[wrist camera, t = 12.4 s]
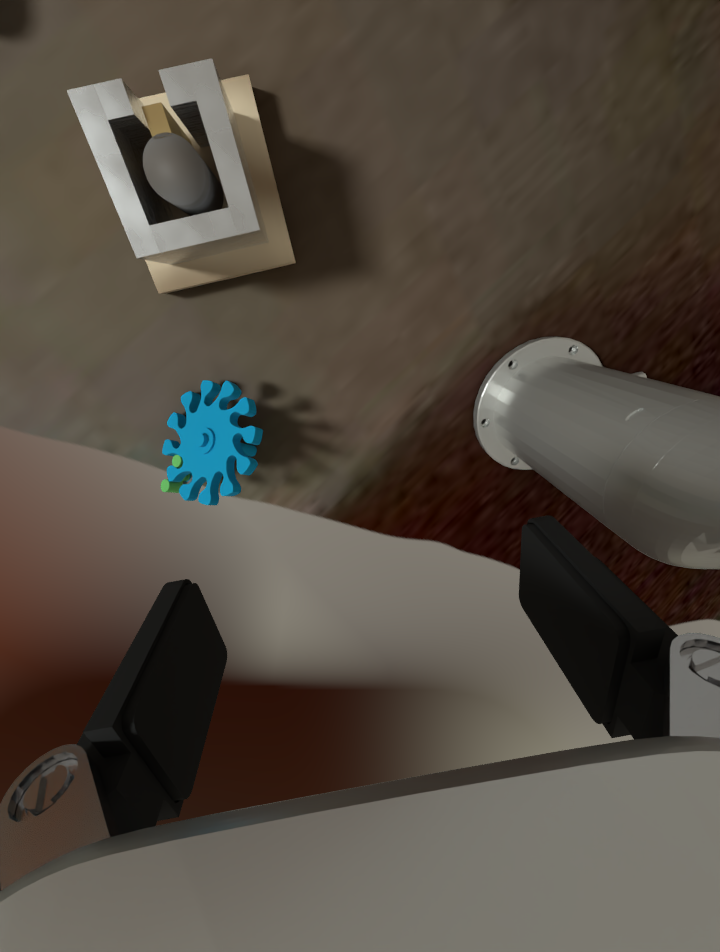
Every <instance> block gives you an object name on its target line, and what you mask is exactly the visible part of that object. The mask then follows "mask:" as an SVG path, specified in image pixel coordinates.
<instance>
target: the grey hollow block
mask: <svg viewBox="0 0 720 952" xmlns="http://www.w3.org/2000/svg"><path fill="white" fill-rule="evenodd" d="M159 73H160V76H161V79H162V83H163V86H164V89H165V92H166V95H167V98H168V101H169V104H170V106H171V108H172V109H173V111H174V112H175V113H176V115H177V116H178V117H179V119H180V120H181V122H182V123H183V124H184V126H185V127H186V128H187V130H188V131H189V133H190V134H191V135H192V137H193V138H194V139H195V141H196V142H197V143H198V145H199V146H200V148H202V147H207V146H210V147H211V150H212V154H213V157H214V160H215V164H216V167H217V170H218V173H219V177H220V180H221V183H222V187H223V190H224V193H225V196H226V200H227V203H228V206H229V207H228V208H224V209H220V210H215V211H211V212H206V213H202V214H198V215H193V216H189V217H185V218H180V219H176V220H175V219H174V217H173V214H172V211H171V208H170V206H169V203H168V201H167V200H165V199H164V198H162V197H161V196H160V195H159V194H157V193H156V192H155V190H154V189H153V188H152V186H151V185H150V183H149V182H148V180H147V177H146V175H145V172H144V167H143V152H144V149H145V146H146V144H147V143H148V141H149V140H150V139H151V138H152V135H151V132H150V130H149V127H148V124H147V121H146V118H145V115H144V113H143V110H142V106H144V104H143V103H142V102H141V101H140V100H139V99H138V97H137V96H136V95H135V94H134V93H133V92H132V91H131V89H130V88H129V87H128V86H127V85H126V84H125V82H124V81H123V80H122V79H116V80H111V81H107V82H102V83H98V84H93V85H89V86H84V87H80V88H75V89H70V90H67V92H68V95H69V97H70V99H71V102H72V104H73V107H74V109H75V111H76V114H77V116H78V119H79V121H80V123H81V126H82V128H83V131H84V133H85V135H86V138H87V140H88V143H89V145H90V147H91V150H92V152H93V154H94V157H95V159H96V162H97V164H98V166H99V169H100V171H101V174H102V176H103V178H104V181H105V183H106V186H107V188H108V190H109V193H110V195H111V198H112V200H113V202H114V205H115V207H116V209H117V212H118V214H119V217H120V219H121V221H122V224H123V226H124V229H125V231H126V233H127V236H128V238H129V241H130V243H131V245H132V248H133V250H134V253H135V255H136V257H137V258H138V259H143V260H148V261H154V262H159V263H164V264H169V265H173V264H178V263H182V262H186V261H191V260H195V259H199V258H204V257H208V256H212V255H217V254H221V253H225V252H230V251H234V250H238V249H243V248H247V247H251V246H256V245H260V244H264V243H269V240H268V236H267V232H266V229H265V225H264V221H263V218H262V214H261V210H260V207H259V203H258V199H257V196H256V192H255V188H254V185H253V181H252V177H251V174H250V170H249V166H248V163H247V159H246V155H245V152H244V148H243V144H242V141H241V137H240V133H239V130H238V126H237V122H236V119H235V115H234V112H233V109H232V107H231V104H230V102H229V99H228V97H227V94H226V92H225V89H224V87H223V84H222V82H221V79H220V77H219V74H218V72H217V69H216V67H215V64H214V62H213V59H207V60H203V61H198V62H194V63H189V64H185V65H180V66H175V67H171V68H166V69H162V70H159Z"/></svg>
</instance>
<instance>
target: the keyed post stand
mask: <svg viewBox="0 0 720 952" xmlns="http://www.w3.org/2000/svg"><path fill="white" fill-rule="evenodd" d="M221 82H222V84H223V87H224V89H225V92H226V94H227V97H228V99H229V102H230V104H231V107H232V109H233V112H234V115H235V119H236V122H237V126H238V130H239V133H240V137H241V141H242V144H243V148H244V152H245V155H246V159H247V163H248V166H249V170H250V174H251V177H252V181H253V185H254V188H255V192H256V196H257V199H258V203H259V207H260V210H261V214H262V218H263V221H264V225H265V229H266V232H267V236H268V240H269V243H264V244H260V245H256V246H251V247H247V248H243V249H238V250H234V251H230V252H225V253H221V254H217V255H212V256H208V257H204V258H199V259H195V260H191V261H186V262H182V263H178V264H173V265H169V264H164V263H159V262H154V261H148V260H145V261H146V263H147V266H148V268H149V271H150V273H151V275H152V278H153V280H154V283H155V285H156V288H157V290H158V292H159V294H166V293H170V292H174V291H179V290H183V289H187V288H192V287H196V286H200V285H205V284H209V283H213V282H217V281H222V280H226V279H230V278H235V277H239V276H243V275H248V274H252V273H256V272H260V271H265V270H269V269H273V268H278V267H282V266H286V265H290V264H295V263H296V262H295V258H294V254H293V250H292V246H291V242H290V238H289V234H288V230H287V226H286V222H285V218H284V214H283V210H282V206H281V202H280V198H279V194H278V190H277V186H276V182H275V178H274V174H273V170H272V166H271V162H270V158H269V154H268V150H267V146H266V142H265V138H264V134H263V130H262V126H261V122H260V118H259V114H258V110H257V106H256V102H255V98H254V94H253V90H252V86H251V82H250V78H249V75H243V76H238V77H234V78H229V79H225V80H221ZM139 100H140V101H141V102H142V103H143V104H144V106H142V110H143V113H144V115H145V118H146V121H147V124H148V127H149V130H150V132H151V135H152V138H151V139H150V140H149V141H148V143H147V144H146V146H145V149H144V152H143V167H144V172H145V175H146V177H147V180H148V182H149V183H150V185H151V186H152V188H153V189H154V190H155V192H156V193H157V194H159V195H160V196H161V197H162V198H164V199H165V200H167V201H168V203H169V206H170V208H171V211H172V214H173V217H174V219H175V220H176V219H180V218H185V217H189V216H193V215H198V214H202V213H206V212H211V211H215V210H220V209H224V208H228V207H229V206H228V203H227V200H226V196H225V193H224V190H223V187H222V183H221V180H220V177H219V173H218V170H217V167H216V164H215V160H214V157H213V154H212V150H211V147H210V146H207V147H202V148H200V146H199V145H198V143H197V142H196V141H195V139H194V138H193V137H192V135H191V134H190V133H189V131H188V130H187V128H186V127H185V126H184V124H183V123H182V122H181V120H180V119H179V117H178V116H177V115H176V113H175V112H174V111H173V109H172V108H171V106H170V104H169V101H168V98H167V95H166V93H161V94H157V95H152V96H148V97H143V98H139Z"/></svg>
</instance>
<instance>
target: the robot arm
mask: <svg viewBox="0 0 720 952" xmlns="http://www.w3.org/2000/svg"><path fill="white" fill-rule="evenodd" d="M509 362H510V365H508V364H509ZM473 415H474V428H475V433H476V437H477V439H478V441H479V443H480V445H481V446H482V448H483V449H484V450H485V451H486V453H487V454H488V455H489V456H491V457H492V458H493V459H494V460H495V461H497V462H499V463H500V464H502V465H504V466H506V467H509V468H512V469H520V470H530V469H534V470H535V471H536V472H537V473H539V474H540V475H541V476H542V477H544V478H545V479H546V480H548V481H549V482H550V483H551V484H553V485H554V486H555V487H557V488H558V489H559V490H560V491H562V492H563V493H564V494H566V495H567V496H568V497H569V498H571V499H572V500H573V501H575V502H576V503H577V504H578V505H580V506H581V507H582V508H583V509H585V510H586V511H587V512H589V513H590V514H591V515H592V516H594V517H595V518H596V519H598V520H599V521H600V522H601V523H603V524H604V525H605V526H607V527H608V528H609V529H610V530H612V531H613V532H614V533H616V534H617V535H618V536H620V537H621V538H622V539H624V540H625V541H626V542H628V543H629V544H630V545H631V546H633V547H634V548H636V549H637V550H639V551H640V552H642V553H644V554H646V555H647V556H649V557H651V558H653V559H656V560H659V561H661V562H664V563H667V564H670V565H675V566H680V567H685V568H696V569H720V397H719V396H715V395H711V394H707V393H703V392H699V391H696V390H692V389H688V388H684V387H680V386H676V385H672V384H668V383H664V382H660V381H656V380H652V379H648V378H647V376H646V374H645V373H643V372H637V373H633V374H628V373H625V372H621V371H617V370H613V369H609V368H605V367H603V366H602V364H601V362H600V360H599V358H598V356H597V355H596V354H595V353H594V352H593V351H592V350H591V349H590V348H589V347H587V346H586V345H584V344H583V343H581V342H579V341H576V340H573V339H569V338H564V337H542V338H538V339H534V340H530V341H528V342H526V343H524V344H521V345H519V346H517V347H516V348H514V349H513V350H511V351H510V352H508V353H507V354H506V355H505V356H504V357H503V358H501V359H500V360H499V361H498V362H497V363H496V364H495V365H494V367H493V368H492V369H491V371H490V372H489V373H488V374H487V376H486V378H485V380H484V381H483V383H482V385H481V387H480V389H479V392H478V395H477V398H476V401H475V407H474V413H473ZM483 419H484V421H483V422H482V420H483ZM519 599H520V603H521V606H522V608H523V609H524V611H525V613H526V614H527V616H528V617H529V619H530V620H531V622H532V624H533V625H534V627H535V629H536V630H537V632H538V633H539V635H540V636H541V638H542V640H543V641H544V643H545V644H546V646H547V648H548V649H549V651H550V652H551V654H552V655H553V657H554V659H555V660H556V662H557V663H558V665H559V667H560V668H561V670H562V671H563V673H564V675H565V676H566V678H567V679H568V681H569V683H570V684H571V686H572V687H573V689H574V690H575V692H576V694H577V695H578V697H579V698H580V700H581V702H582V703H583V705H584V706H585V708H586V709H587V711H588V713H589V714H590V716H591V717H592V719H593V720H594V721H595V722H596V723H598V724H601V723H602V724H603V725H604V727H605V728H606V730H607V731H608V733H609V734H610V736H611V737H612V738H615V737H621V736H626V735H632V737H633V738H634V740H628V741H621V742H615V743H609V744H602V745H595V746H589V747H583V748H576V749H570V750H564V751H558V752H552V753H546V754H541V755H535V756H530V757H524V758H518V759H512V760H507V761H501V762H495V763H490V764H484V765H478V766H472V767H467V768H461V769H456V770H450V771H444V772H439V773H433V774H428V775H422V776H417V777H411V778H406V779H401V780H395V781H389V782H384V783H378V784H373V785H367V786H362V787H356V788H351V789H345V790H340V791H334V792H330V793H324V794H318V795H313V796H307V797H303V798H297V799H291V800H286V801H281V802H276V803H270V804H265V805H260V806H254V807H249V808H244V809H239V810H233V811H228V812H222V813H217V814H212V815H207V816H203V817H197V818H193V819H188V820H183V821H179V822H173V823H169V824H164V825H159V826H156V822H157V821H159V820H165V819H170V818H176V817H179V814H180V811H181V807H182V804H183V800H184V799H187V798H188V797H189V796H190V794H191V792H192V789H193V785H194V781H195V777H196V774H197V770H198V766H199V762H200V759H201V755H202V751H203V747H204V743H205V740H206V736H207V732H208V729H209V725H210V721H211V717H212V713H213V710H214V706H215V703H216V699H217V695H218V691H219V687H220V684H221V680H222V676H223V673H224V669H225V665H226V660H227V650H226V646H225V644H224V642H223V640H222V637H221V636H220V633H219V631H218V629H217V626H216V624H215V622H214V620H213V617H212V615H211V613H210V611H209V608H208V606H207V604H206V602H205V600H204V597H203V595H202V593H201V591H200V588H199V586H198V585H197V584H196V583H193V584H192V583H191V581H190V580H188V579H185V580H180V581H174V582H169V583H166V584H165V585H164V586H163V588H162V590H161V592H160V593H159V595H158V597H157V599H156V601H155V602H154V604H153V606H152V608H151V610H150V611H149V613H148V615H147V617H146V619H145V621H144V622H143V624H142V626H141V628H140V630H139V631H138V633H137V635H136V637H135V639H134V641H133V642H132V644H131V646H130V648H129V650H128V651H127V653H126V656H125V657H124V659H123V660H122V662H121V664H120V666H119V668H118V669H117V671H116V673H115V675H114V677H113V679H112V680H111V682H110V684H109V686H108V688H107V690H106V691H105V693H104V695H103V697H102V699H101V700H100V702H99V704H98V706H97V708H96V709H95V711H94V713H93V715H92V717H91V719H90V720H89V722H88V724H87V726H86V727H85V729H84V731H83V734H82V736H81V738H80V740H79V741H78V743H77V745H75V744H72V745H64V746H61V747H58V748H56V749H53V750H51V751H49V752H48V753H46V754H45V755H43V756H41V757H40V758H38V759H37V760H36V761H35V762H33V763H32V764H31V765H30V766H29V767H28V768H27V769H25V770H24V771H23V773H22V774H21V775H20V776H19V777H18V778H17V779H16V780H15V781H14V783H13V784H12V786H11V787H10V788H9V790H8V791H7V793H6V794H5V796H4V798H3V800H2V802H1V805H0V952H720V638H718V637H715V636H711V635H706V634H701V633H687V634H683V635H679V636H678V635H677V634H676V633H675V632H674V631H673V630H672V629H671V628H669V626H668V625H667V624H665V623H664V622H663V621H662V620H661V619H660V618H659V617H658V616H657V615H656V614H655V613H654V612H653V611H652V610H651V609H650V608H649V607H648V606H647V605H646V604H645V603H644V602H643V601H642V600H641V599H640V598H639V597H638V596H637V595H635V594H634V593H633V592H632V591H631V590H630V589H629V588H628V587H627V586H626V585H625V584H624V583H623V582H622V581H621V580H620V579H619V578H618V577H617V576H616V575H615V574H614V573H613V572H612V571H611V570H610V569H609V568H608V567H607V566H606V565H604V564H603V563H602V562H601V561H600V560H599V559H597V558H595V557H594V556H593V555H592V554H591V553H590V552H589V551H588V550H587V549H585V548H584V547H583V546H582V545H581V544H580V543H579V542H578V541H577V540H576V539H575V538H574V537H573V536H572V535H571V534H570V533H569V532H568V531H567V530H566V529H565V528H564V527H563V526H562V525H561V524H560V523H559V522H558V521H557V520H556V519H555V518H554V517H552V516H543V517H537V518H532V519H529V520H528V523H527V525H524V526H523V527H522V541H521V562H520V583H519Z"/></svg>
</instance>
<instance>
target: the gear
mask: <svg viewBox="0 0 720 952" xmlns="http://www.w3.org/2000/svg"><path fill="white" fill-rule="evenodd" d="M220 388H221V387H220V385H219V384H217V383H214V382H212V381H208V380H204V381H202V383H201V400H200V395H199V394H197V393H194V392H192V391H189V392H186V393H185V394H183V395H182V396H181V402H182V404H183V405H184V407H185V410H186V418H185V416H184V415H182V414H178V413H175V412H174V413H172V415H171V416H170V417H169V419H168V421H167V424H168V426H169V427H170V428H173V429H175V430H176V431H177V433H178V434H179V437H180V439H181V444H179V442H177V441H173V440H165V442H164V445H163V451H162V453H163V454H164V455H169V456H174V457H173V459H172V464H173V466H169V467H168V468H167V477H168V480H167V479H165V480H163V481H162V483H161V490H162V491H163V492H175V493H180V494H181V496H182V498H183V499H184V500H188V501H193V500H196V499H197V497H198V493H199V490H200V488H201V486H202V485H203V483H204V482H205V481H207V486H206V488H205V489H204V490H203V491H202V492H201V493H200V495H199V499H198V500H199V502H200V503H202V504H205V505H217V504H218V501H219V495H218V488H219V483H220V480H221V478H222V476H223V482H222V484H221V486H220V493H221V495H222V496H235V495H237V494H239V493H241V486H240V484H239V483H238V481H237V479H236V477H235V472H234V462H235V460H236V459H237V470H238V472H239V473H240V474H243V475H251V474H252V473H253V472H254V470H255V469H256V467H257V466H258V463H257V461H256V460H255V459H253V458H250V457H253V456H255V455H256V452H257V449H256V447H255V446H253V445H248V444H244V443H240V440H241V438H242V437H243V439H244V441H245V442H246V443H249V444H254V445H259V444H260V442H261V439H262V434H263V430H262V429H261V428H258V427H254V426H248V427H246V428H241V427H239V426H238V423H237V420H238V417H239V416H240V415H245V416H248V417H253V416H254V415H256V405H255V402H254V400H252V399H249V398H246V397H244V398H242V399H240V401H239V402H238V403H237V404H236V405H235V406H234V407H233V408H231V409H228V410H227V404H228V403H229V401H231V400H235V399H237V398H239V397H240V395H241V390H240V388H239V387H238V386H237V385H236V384H234V383H232V382H229V381H225V382H224V383H223V385H222V388H221V392H220ZM219 392H220V394H219ZM218 394H219V396H218V398H217V399H216V400H215V401H214V402H213V403H212V401H213V399H214V398H215V397H216V396H217V395H218ZM199 403H200V404H199ZM197 408H198V409H197ZM248 456H250V457H248Z"/></svg>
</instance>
